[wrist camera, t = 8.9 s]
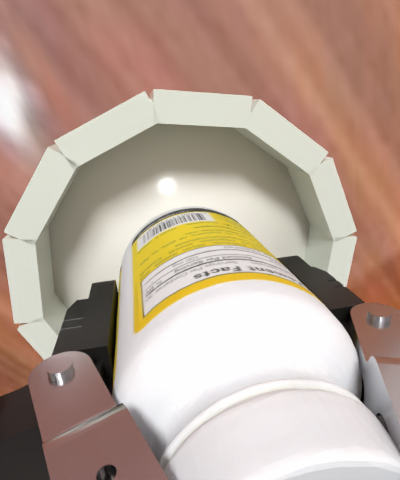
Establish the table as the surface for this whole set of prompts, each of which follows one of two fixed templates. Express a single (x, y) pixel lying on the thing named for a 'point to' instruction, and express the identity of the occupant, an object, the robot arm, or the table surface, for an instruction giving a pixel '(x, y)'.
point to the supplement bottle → (237, 361)
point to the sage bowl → (167, 196)
